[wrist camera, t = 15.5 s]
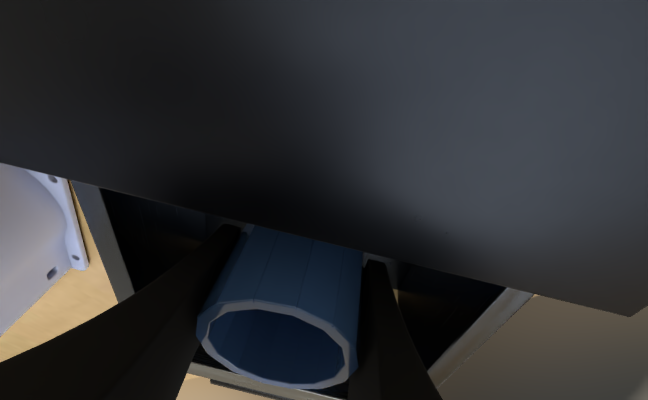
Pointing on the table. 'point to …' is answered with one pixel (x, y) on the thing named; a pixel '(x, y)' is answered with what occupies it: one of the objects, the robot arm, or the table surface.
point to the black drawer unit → (359, 125)
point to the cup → (286, 310)
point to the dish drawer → (195, 227)
